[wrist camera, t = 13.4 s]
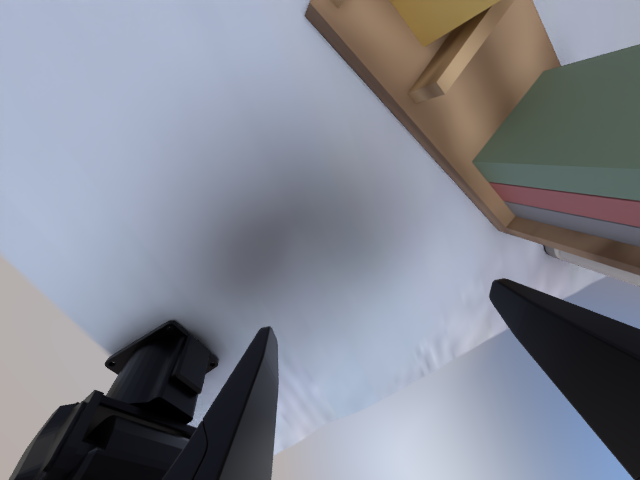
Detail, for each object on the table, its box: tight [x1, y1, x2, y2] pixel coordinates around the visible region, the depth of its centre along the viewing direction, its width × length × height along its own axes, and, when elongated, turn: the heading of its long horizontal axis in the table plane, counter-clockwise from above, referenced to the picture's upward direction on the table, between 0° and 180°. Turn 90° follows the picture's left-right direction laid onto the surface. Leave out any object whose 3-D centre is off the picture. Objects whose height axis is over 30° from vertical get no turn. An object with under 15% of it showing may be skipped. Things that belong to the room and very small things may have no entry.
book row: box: [472, 44, 640, 247], centre depth 16 cm, size 9×9×14 cm
